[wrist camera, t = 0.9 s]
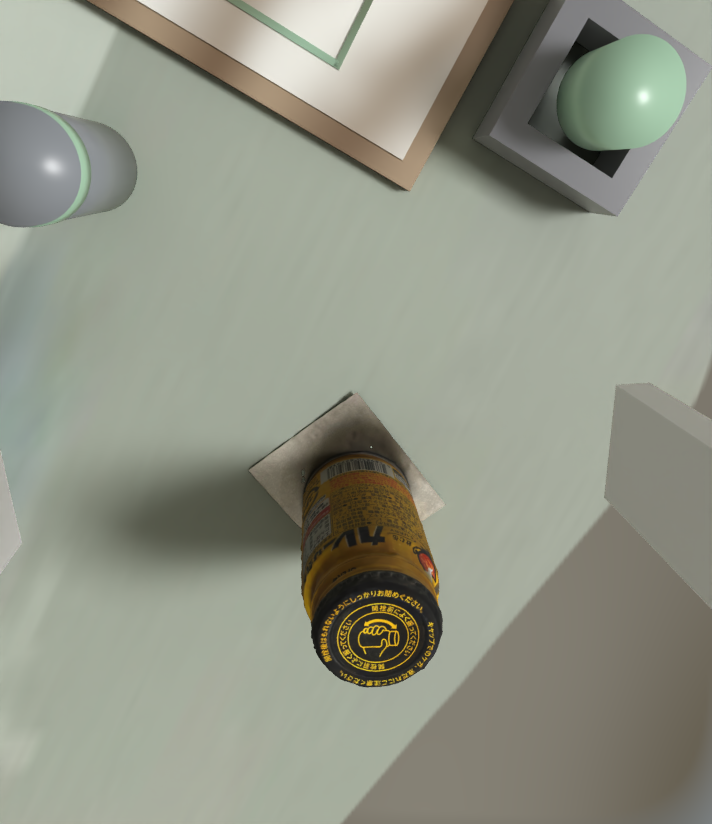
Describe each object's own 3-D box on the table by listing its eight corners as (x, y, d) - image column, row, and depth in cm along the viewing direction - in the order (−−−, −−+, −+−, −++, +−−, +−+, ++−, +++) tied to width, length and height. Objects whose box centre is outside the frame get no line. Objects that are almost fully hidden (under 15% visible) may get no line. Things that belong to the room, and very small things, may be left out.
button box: (472, 138, 32) (489, 135, 29) (555, -10, 30) (582, -29, 27) (590, 212, 34) (617, 216, 31) (676, 75, 32) (713, 66, 29)
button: (538, 120, 29) (564, 114, 26) (592, 27, 28) (625, 11, 25) (612, 168, 30) (645, 168, 27) (667, 80, 29) (707, 71, 26)
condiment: (342, 573, 39) (358, 735, 28) (248, 468, 37) (225, 600, 25) (445, 503, 38) (505, 641, 27) (356, 389, 36) (382, 491, 24)
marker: (42, 185, 31) (-69, 191, 22) (74, 104, 30) (-28, 73, 21) (123, 227, 32) (50, 250, 23) (156, 149, 31) (94, 140, 22)
